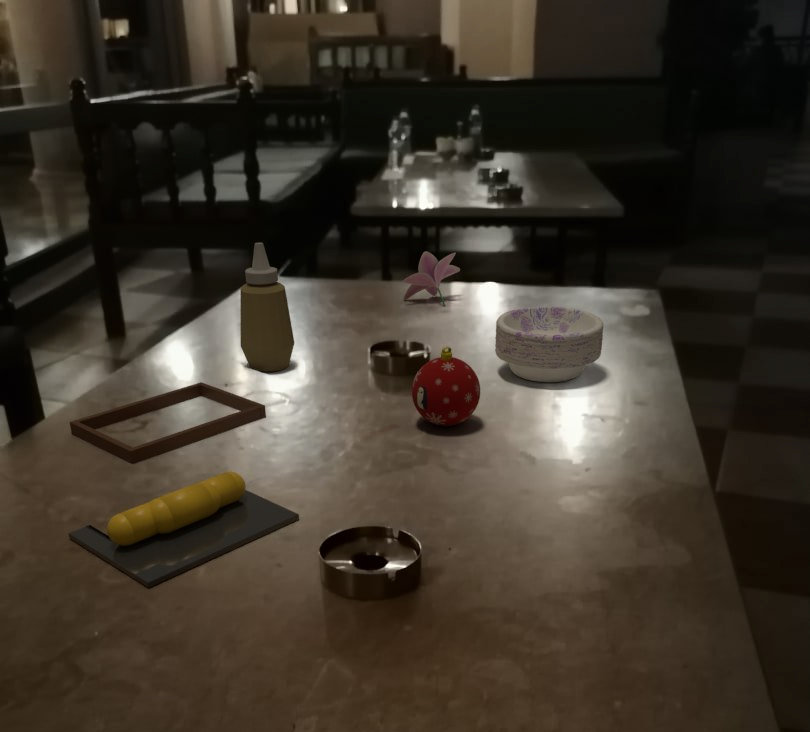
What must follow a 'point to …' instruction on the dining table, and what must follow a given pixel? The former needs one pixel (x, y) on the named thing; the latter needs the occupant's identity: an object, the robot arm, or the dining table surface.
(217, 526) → the board
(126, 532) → the yellow segmented rod
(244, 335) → the squeeze bottle
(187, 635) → the dining table surface
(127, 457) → the tray
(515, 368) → the paper bowls
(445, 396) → the christmas ornament
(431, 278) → the lily
